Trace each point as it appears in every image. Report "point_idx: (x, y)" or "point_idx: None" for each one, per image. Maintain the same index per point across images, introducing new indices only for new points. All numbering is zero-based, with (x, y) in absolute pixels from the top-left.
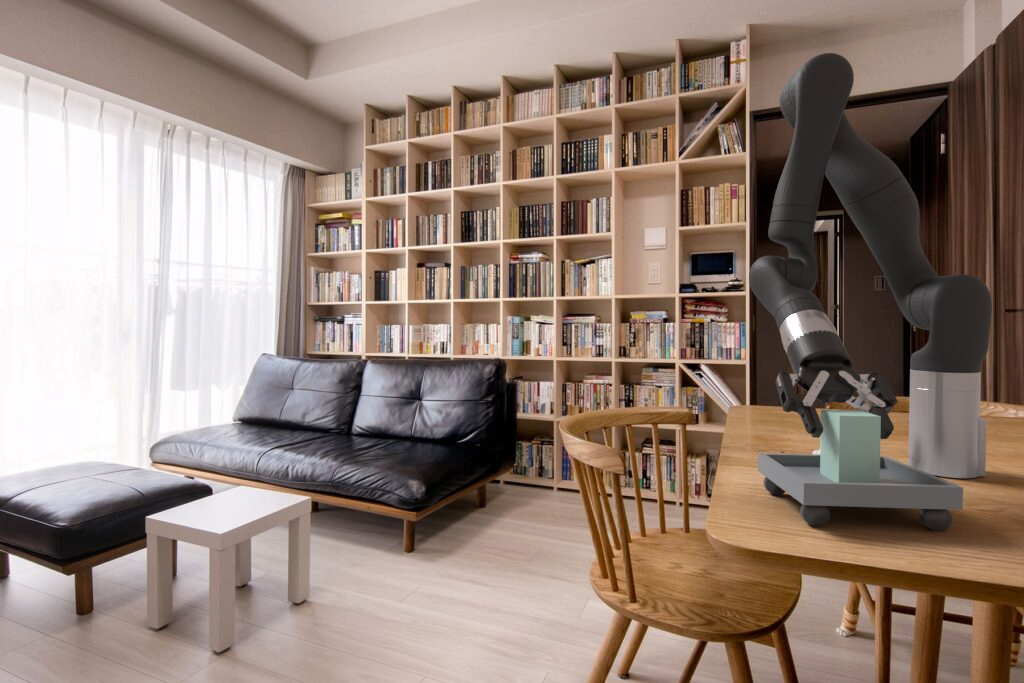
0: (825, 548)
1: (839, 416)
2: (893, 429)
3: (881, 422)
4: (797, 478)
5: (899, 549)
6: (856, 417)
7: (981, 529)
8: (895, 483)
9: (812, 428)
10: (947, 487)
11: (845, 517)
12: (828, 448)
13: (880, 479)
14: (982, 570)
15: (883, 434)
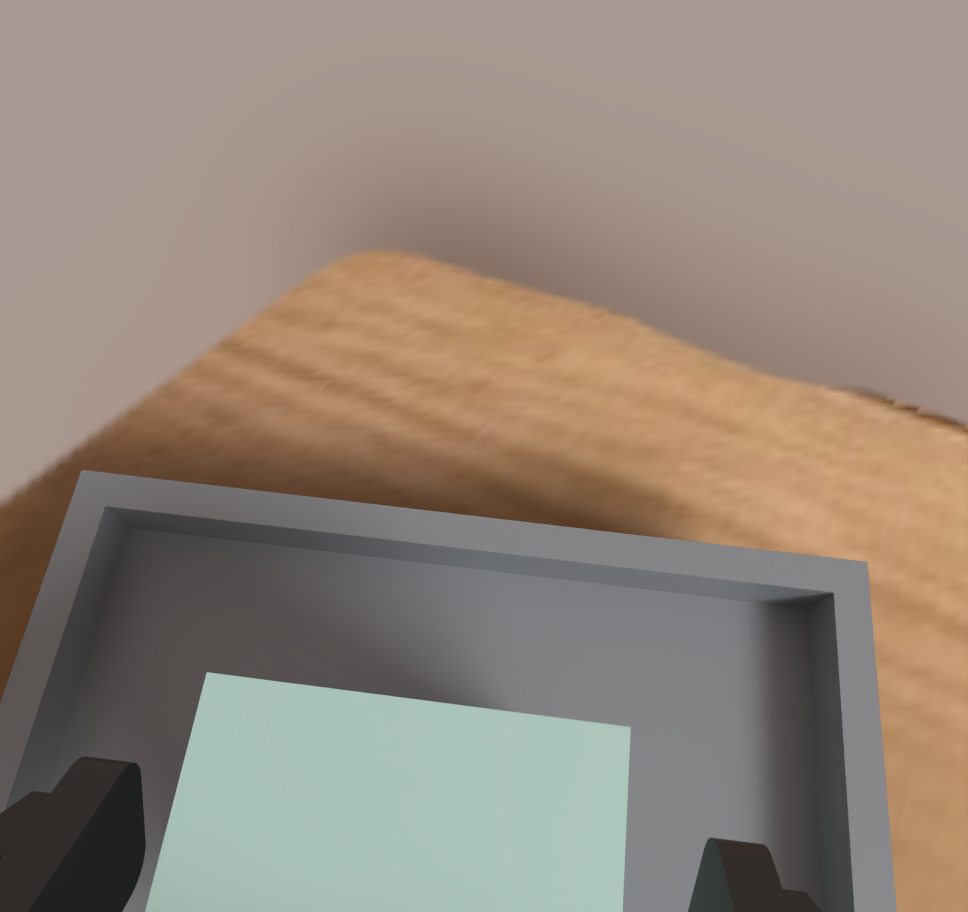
0: (769, 451)
1: (630, 730)
2: (33, 794)
3: (77, 858)
4: (869, 651)
5: (515, 437)
6: (452, 710)
7: (18, 601)
8: None
9: (796, 897)
10: (155, 480)
11: None
12: None
13: None
14: (376, 302)
15: (139, 810)
